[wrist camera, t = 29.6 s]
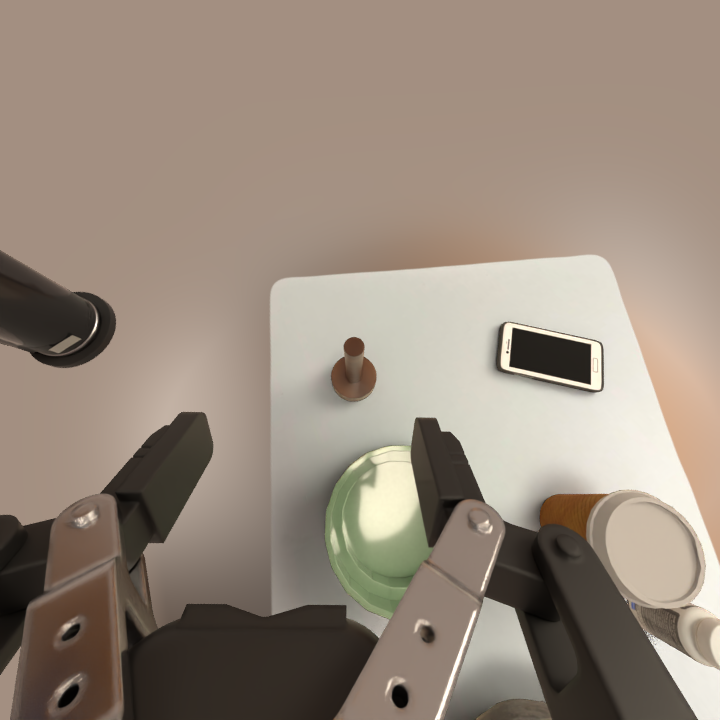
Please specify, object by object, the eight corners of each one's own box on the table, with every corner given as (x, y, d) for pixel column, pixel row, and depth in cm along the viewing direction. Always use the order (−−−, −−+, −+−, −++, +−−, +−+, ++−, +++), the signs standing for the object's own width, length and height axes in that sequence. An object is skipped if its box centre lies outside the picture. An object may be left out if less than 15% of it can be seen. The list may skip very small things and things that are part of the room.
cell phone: (599, 394, 43) (604, 393, 42) (494, 371, 44) (498, 369, 43) (598, 344, 45) (604, 341, 44) (499, 322, 46) (503, 319, 45)
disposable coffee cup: (586, 583, 36) (694, 643, 25) (513, 533, 38) (584, 568, 26) (613, 509, 39) (723, 532, 27) (544, 465, 40) (620, 469, 29)
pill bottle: (652, 642, 35) (743, 699, 27) (618, 604, 36) (696, 647, 28) (676, 610, 36) (770, 655, 28) (642, 574, 37) (723, 607, 29)
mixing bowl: (351, 613, 35) (350, 647, 29) (315, 469, 39) (308, 471, 33) (480, 564, 37) (507, 586, 30) (432, 431, 41) (446, 427, 35)
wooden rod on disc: (339, 406, 42) (332, 384, 28) (327, 366, 43) (316, 327, 30) (380, 394, 42) (393, 366, 29) (367, 355, 44) (374, 311, 31)
